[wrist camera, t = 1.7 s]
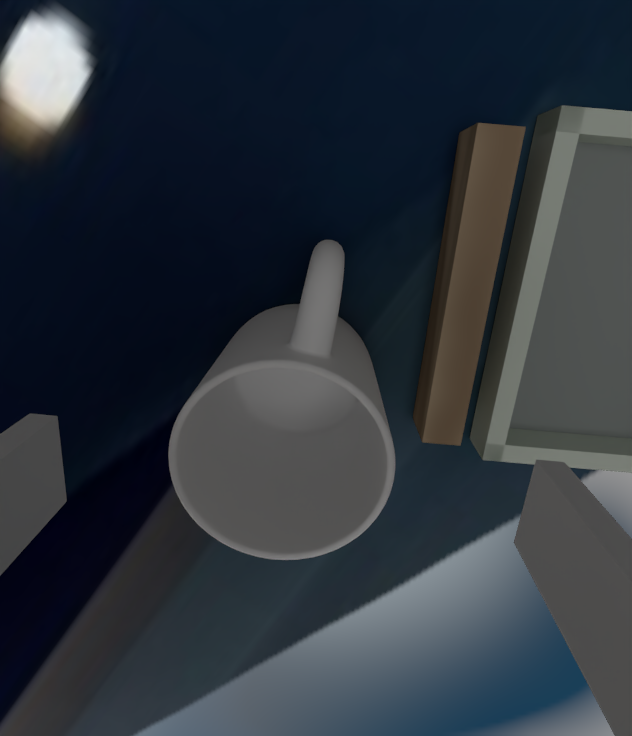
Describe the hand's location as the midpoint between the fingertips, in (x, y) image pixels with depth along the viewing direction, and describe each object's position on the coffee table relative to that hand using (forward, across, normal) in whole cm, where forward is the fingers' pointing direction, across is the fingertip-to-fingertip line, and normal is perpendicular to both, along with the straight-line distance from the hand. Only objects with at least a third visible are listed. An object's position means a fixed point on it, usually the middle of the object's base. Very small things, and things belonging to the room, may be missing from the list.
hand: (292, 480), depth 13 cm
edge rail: (+14, +7, +3) cm, 16 cm away
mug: (+14, 0, 0) cm, 14 cm away
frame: (+14, +16, +3) cm, 22 cm away
